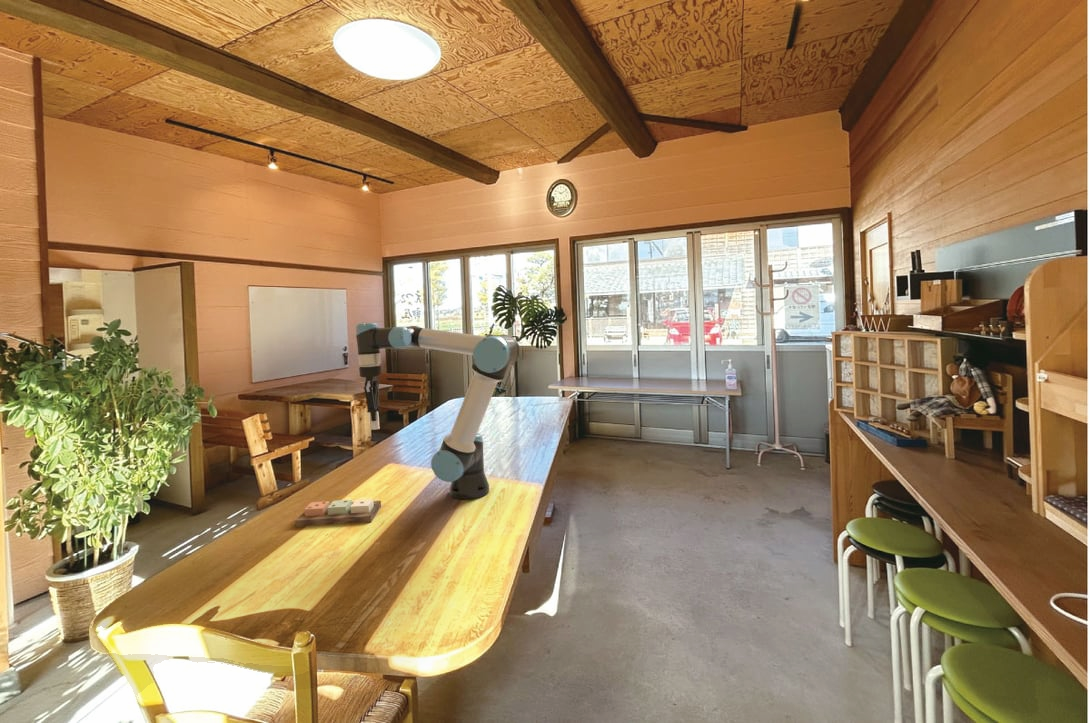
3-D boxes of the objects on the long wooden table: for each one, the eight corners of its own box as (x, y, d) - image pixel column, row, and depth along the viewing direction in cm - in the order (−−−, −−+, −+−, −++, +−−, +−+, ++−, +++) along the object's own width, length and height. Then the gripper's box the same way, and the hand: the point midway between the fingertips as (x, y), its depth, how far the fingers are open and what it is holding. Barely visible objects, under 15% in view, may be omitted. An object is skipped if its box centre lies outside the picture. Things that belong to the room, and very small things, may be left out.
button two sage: (352, 507, 164) (351, 499, 163) (346, 515, 158) (345, 506, 158) (334, 509, 163) (333, 500, 163) (328, 516, 157) (327, 507, 157)
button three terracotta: (329, 509, 163) (329, 501, 163) (323, 516, 157) (322, 508, 157) (312, 510, 163) (311, 502, 162) (304, 518, 157) (304, 509, 156)
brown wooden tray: (381, 506, 168) (380, 500, 168) (371, 522, 155) (370, 515, 155) (311, 510, 166) (311, 504, 166) (296, 526, 153) (295, 520, 153)
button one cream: (373, 506, 164) (373, 498, 164) (369, 514, 159) (368, 505, 158) (356, 508, 164) (355, 499, 164) (350, 515, 158) (350, 506, 158)
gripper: (363, 364, 176) (369, 425, 178) (354, 367, 163) (360, 434, 165) (384, 363, 177) (389, 424, 179) (376, 366, 164) (382, 432, 166)
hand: (375, 429), depth 172 cm, fingers closed
